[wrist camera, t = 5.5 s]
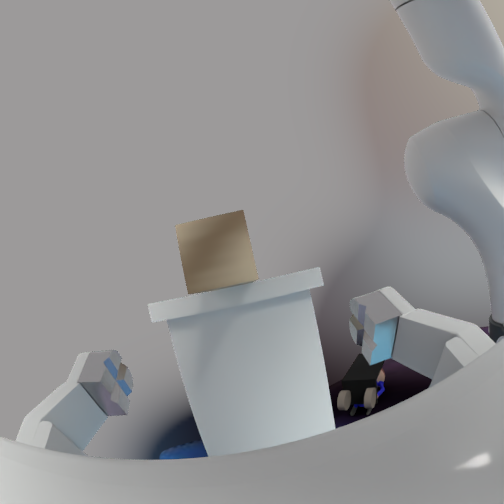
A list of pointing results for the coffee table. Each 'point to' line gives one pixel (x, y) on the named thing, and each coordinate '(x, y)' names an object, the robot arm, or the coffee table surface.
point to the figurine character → (361, 385)
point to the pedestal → (251, 362)
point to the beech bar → (216, 253)
